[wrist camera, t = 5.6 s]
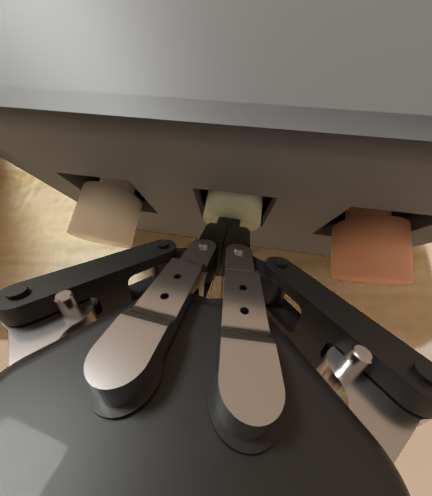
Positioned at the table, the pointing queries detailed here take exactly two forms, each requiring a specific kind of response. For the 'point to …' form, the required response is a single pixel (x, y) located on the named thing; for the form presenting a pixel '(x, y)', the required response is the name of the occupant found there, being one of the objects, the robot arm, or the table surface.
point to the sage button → (234, 208)
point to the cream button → (106, 213)
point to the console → (226, 107)
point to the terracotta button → (372, 248)
